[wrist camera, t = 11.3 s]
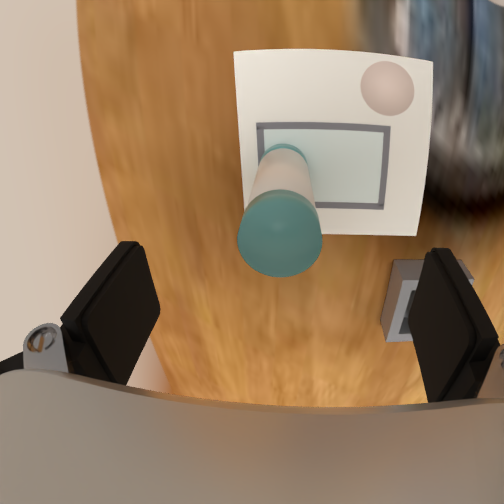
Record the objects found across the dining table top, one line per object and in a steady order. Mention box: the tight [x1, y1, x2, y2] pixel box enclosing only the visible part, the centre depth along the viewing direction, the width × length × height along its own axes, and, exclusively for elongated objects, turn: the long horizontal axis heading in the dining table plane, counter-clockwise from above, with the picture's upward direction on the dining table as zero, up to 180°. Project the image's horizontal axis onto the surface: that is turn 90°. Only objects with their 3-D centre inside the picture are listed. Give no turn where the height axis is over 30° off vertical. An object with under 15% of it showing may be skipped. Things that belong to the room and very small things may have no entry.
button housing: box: [380, 260, 474, 342], centre depth 26 cm, size 7×7×3 cm
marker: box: [237, 144, 322, 277], centre depth 18 cm, size 4×4×11 cm
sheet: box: [233, 49, 433, 236], centre depth 22 cm, size 14×14×1 cm
